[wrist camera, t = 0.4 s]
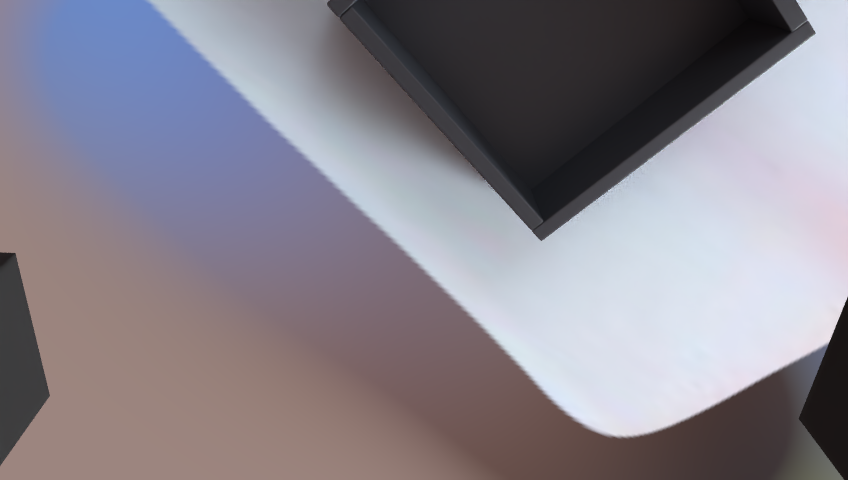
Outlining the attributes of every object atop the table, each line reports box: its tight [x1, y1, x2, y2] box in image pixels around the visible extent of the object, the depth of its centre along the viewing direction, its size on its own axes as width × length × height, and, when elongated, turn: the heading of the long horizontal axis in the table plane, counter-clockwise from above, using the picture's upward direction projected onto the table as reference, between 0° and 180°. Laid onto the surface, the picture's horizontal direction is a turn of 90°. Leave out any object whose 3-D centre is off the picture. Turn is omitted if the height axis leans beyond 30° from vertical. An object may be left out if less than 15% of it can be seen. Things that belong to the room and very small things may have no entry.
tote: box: [327, 0, 815, 241], centre depth 33 cm, size 16×16×5 cm
